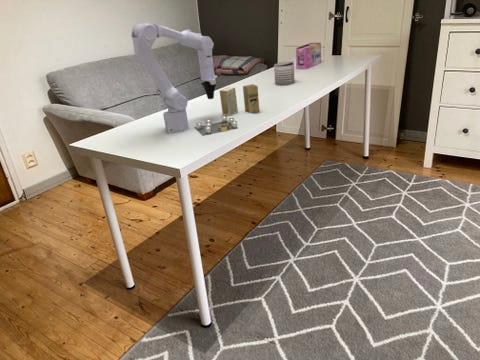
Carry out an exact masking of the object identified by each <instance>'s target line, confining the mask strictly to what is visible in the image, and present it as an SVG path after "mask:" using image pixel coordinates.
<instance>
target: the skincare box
mask: <svg viewBox="0 0 480 360" xmlns="http://www.w3.org/2000/svg"><path fill="white" fill-rule="evenodd" d="M219 95H220V96H219V97H220V104H221V111H222V116H227V117H231V116H233V115H236V114H238V113H239V109H238V101H237V92H236V87H231V86H227V87H224V88H223V89H220V90H219Z"/></svg>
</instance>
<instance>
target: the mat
mask: <svg viewBox="0 0 480 360" xmlns="http://www.w3.org/2000/svg"><path fill="white" fill-rule="evenodd" d="M223 124H227V125H229V120H228V119H227V123H222V121H218V122H214V123H212V130H211V131H212V133H211V134H206V132H205V127H206V125H203V124H202V126H203V129H202V130H197V126H194V127H193V128H194V129H195V130H196V131H197V132H198V133H199V134H200V135H201V136H202V137H206V136H209V135H210V136H211V135H214V134H219V133H222V132H221V131H218V126H219V125H223ZM229 128H230V129H229V130H228V131H233V130H234V129H232V126H230V125H229ZM238 129H239V128H236V129H235V130H238ZM228 131H227V132H228ZM223 132H225V131H223Z"/></svg>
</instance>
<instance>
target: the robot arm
mask: <svg viewBox="0 0 480 360" xmlns="http://www.w3.org/2000/svg"><path fill="white" fill-rule="evenodd" d="M130 37H131V39H132V45H133V52H134V55H135V57H136V58H137V59H138V61H139V62H140V64H141V65H142V67H143V68H144V69H145V71H146V72H147V74H148V75H149V77H150V78H151V79H152V80H153V82H154V83H155V85H156V87H158V90H160V92H161V96H162V98H163V102H164V105H165V106H166V107H167V111H165V112H163V114H162V115H163V120H164V127H165V130H166V132H167V133H168V134H173V133H179V132H185V131H187V130H189V129H190V127H189V122H188V121H189V120H188V116H187V109H186V108H187V106H188V99H187V97H186V96H185V95H183V94H182V93H181V92H180V91H179V90H178V89H177V88H176V87H175V86H174V85H173V83H172V82H171V81H170V80H169V78H168V76H167V74H166V73H165V71H163V69H162V67H161V66H160V64H159V63H158V62H157V60H156V59H155V57H154V55H153V54H152V52H151V51H152V47H153V45H154V44H155V42H156V40H157V38H161V37H164V38H168V39H172V40H176V41H178V42H179V43H180V45H181V46H185V47H188V48H192V49H195V50H197V55H198V63H199V71H200V80H201V81H203V82H201V83H200V84H201V85H202V87H203V88H204V91H205V94H206V97H207V99H208V100H213V99H214V98H215V97H214V96H215V88H216V85H217V81H216V79H218V75H215V68H214V67H215V65H214V58H213V49H214V46H215V45H214V42H213V40H212V38H211V37H210V36H208V35H207V36H206V35H202V33H200V32H198V33H196V32H194V31H192V30H191V29H184V30H182V31H178V30H176V29H172V28H170V27H167V26H165V25H161V24H156V23H155V24H153V23H151V22H146V23H140V22H139V23H135V24H134V25H133V27H132V29H131V33H130Z"/></svg>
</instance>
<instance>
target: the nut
mask: <svg viewBox="0 0 480 360" xmlns="http://www.w3.org/2000/svg"><path fill="white" fill-rule="evenodd" d="M229 129H230V128H229V125H227V124H223V125H219V126H218V131H221V132H220V133H222V132H223V131H224V132H228V130H229ZM229 131H230V130H229Z"/></svg>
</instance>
